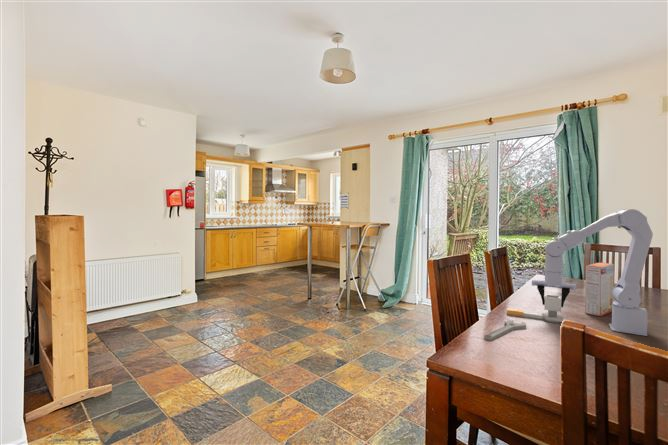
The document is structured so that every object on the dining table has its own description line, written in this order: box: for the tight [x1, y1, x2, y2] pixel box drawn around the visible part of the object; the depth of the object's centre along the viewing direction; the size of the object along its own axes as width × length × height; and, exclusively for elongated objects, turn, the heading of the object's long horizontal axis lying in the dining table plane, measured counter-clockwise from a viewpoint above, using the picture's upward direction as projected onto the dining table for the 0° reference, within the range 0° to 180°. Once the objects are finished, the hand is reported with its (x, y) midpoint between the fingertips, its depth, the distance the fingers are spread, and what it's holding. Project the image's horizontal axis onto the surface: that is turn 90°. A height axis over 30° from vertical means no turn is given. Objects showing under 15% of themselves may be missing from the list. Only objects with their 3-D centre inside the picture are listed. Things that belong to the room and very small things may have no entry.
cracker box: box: [584, 262, 615, 317], centre depth 141 cm, size 14×6×21 cm, turn 123°
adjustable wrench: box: [483, 319, 527, 341], centre depth 118 cm, size 25×6×2 cm, turn 123°
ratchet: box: [506, 308, 564, 325], centre depth 133 cm, size 20×7×5 cm, turn 58°
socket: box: [543, 293, 562, 313], centre depth 130 cm, size 5×5×5 cm
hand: (552, 305), depth 130 cm, fingers closed on socket, 5 cm apart
